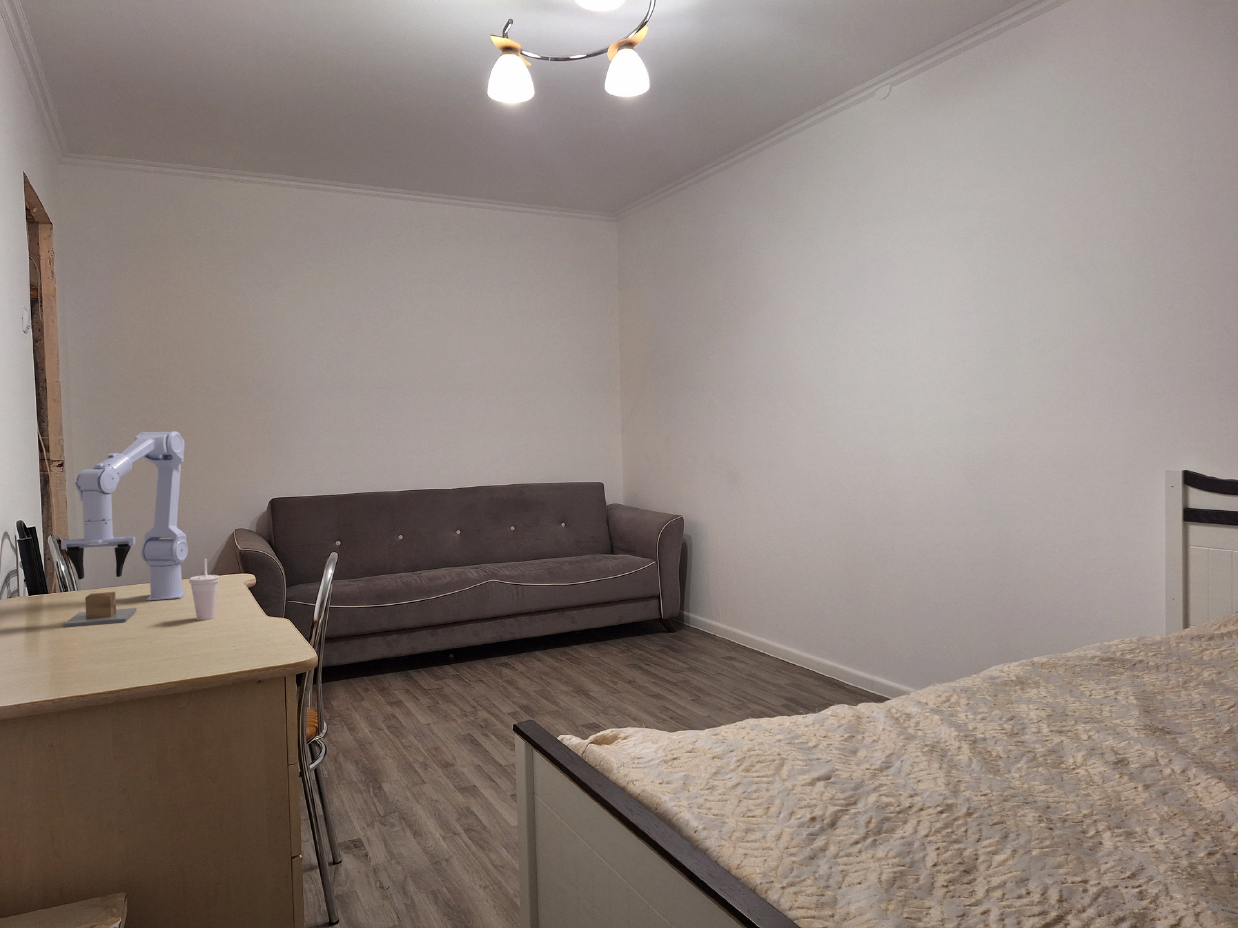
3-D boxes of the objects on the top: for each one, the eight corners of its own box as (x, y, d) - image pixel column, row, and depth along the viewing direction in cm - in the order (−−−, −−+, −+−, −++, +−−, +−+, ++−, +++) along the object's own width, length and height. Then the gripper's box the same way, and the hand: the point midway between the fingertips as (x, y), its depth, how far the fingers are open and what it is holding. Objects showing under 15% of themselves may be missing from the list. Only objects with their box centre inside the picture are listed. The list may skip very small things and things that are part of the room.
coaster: (79, 615, 191) (78, 612, 191) (136, 611, 195) (136, 607, 195) (64, 627, 180) (64, 623, 180) (125, 621, 184) (125, 618, 184)
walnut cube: (91, 614, 189) (90, 593, 189) (116, 612, 191) (115, 591, 190) (86, 618, 184) (85, 597, 184) (111, 616, 186) (110, 595, 186)
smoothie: (226, 614, 190) (224, 556, 190) (210, 621, 184) (208, 561, 183) (201, 614, 191) (199, 556, 190) (184, 620, 184) (182, 561, 184)
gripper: (56, 523, 180) (58, 582, 181) (129, 520, 185) (132, 577, 186) (65, 520, 187) (67, 577, 187) (136, 517, 192) (138, 572, 193)
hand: (100, 577), depth 187 cm, fingers open, 7 cm apart
